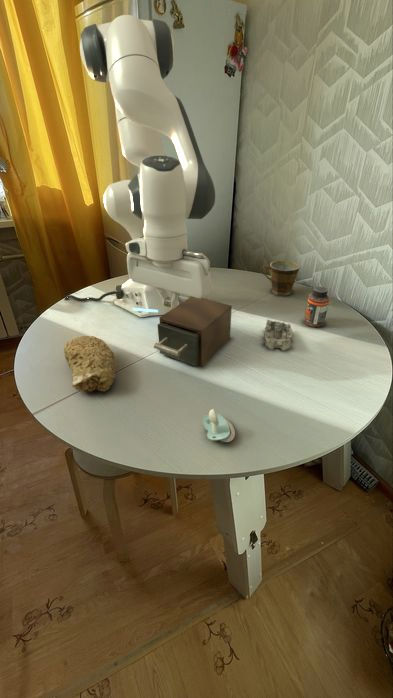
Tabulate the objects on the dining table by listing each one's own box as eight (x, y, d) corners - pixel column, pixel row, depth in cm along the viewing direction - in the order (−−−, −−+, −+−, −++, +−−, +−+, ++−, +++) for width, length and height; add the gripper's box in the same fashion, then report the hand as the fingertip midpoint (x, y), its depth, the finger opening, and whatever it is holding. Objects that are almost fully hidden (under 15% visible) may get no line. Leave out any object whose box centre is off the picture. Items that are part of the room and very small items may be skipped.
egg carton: (290, 352, 95) (292, 339, 92) (261, 348, 96) (263, 335, 94) (291, 332, 103) (293, 320, 101) (265, 329, 105) (267, 317, 103)
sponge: (121, 394, 83) (117, 337, 97) (110, 374, 77) (108, 316, 91) (66, 408, 83) (71, 348, 96) (51, 388, 77) (58, 328, 91)
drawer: (185, 376, 85) (184, 345, 80) (148, 362, 90) (145, 332, 85) (223, 340, 99) (224, 312, 94) (189, 329, 104) (188, 302, 99)
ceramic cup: (295, 287, 130) (299, 261, 124) (295, 299, 122) (300, 271, 116) (260, 284, 132) (262, 258, 127) (257, 295, 124) (260, 268, 119)
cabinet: (201, 366, 90) (201, 330, 84) (162, 352, 95) (159, 317, 90) (230, 338, 101) (231, 305, 95) (192, 327, 106) (192, 295, 100)
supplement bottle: (300, 319, 110) (306, 285, 103) (317, 317, 111) (324, 283, 104) (309, 329, 105) (316, 294, 98) (327, 326, 106) (335, 291, 100)
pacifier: (228, 417, 75) (200, 422, 73) (230, 395, 71) (201, 399, 70) (239, 443, 69) (210, 449, 68) (242, 420, 65) (211, 425, 64)
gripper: (217, 249, 70) (216, 311, 78) (138, 235, 80) (144, 291, 87) (201, 259, 66) (201, 323, 74) (119, 242, 75) (127, 301, 83)
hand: (169, 306), depth 81 cm, fingers closed
